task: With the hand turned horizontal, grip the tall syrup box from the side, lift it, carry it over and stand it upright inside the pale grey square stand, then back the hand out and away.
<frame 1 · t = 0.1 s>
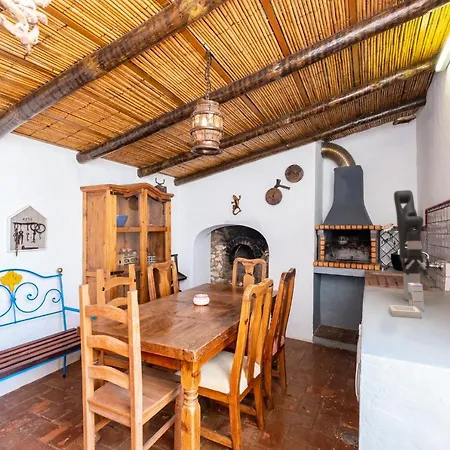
hand: (415, 275, 182), 17 cm above the countertop, tool pointing down, fingers open, 8 cm apart
syrup box: (416, 309, 169), on the countertop
square stand: (404, 314, 159), on the countertop
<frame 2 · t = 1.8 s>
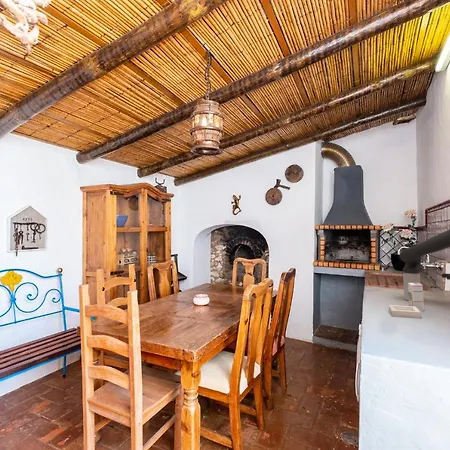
hand: (444, 276, 164), 19 cm above the countertop, tool horizontal, fingers open, 8 cm apart
nothing on the countertop moved.
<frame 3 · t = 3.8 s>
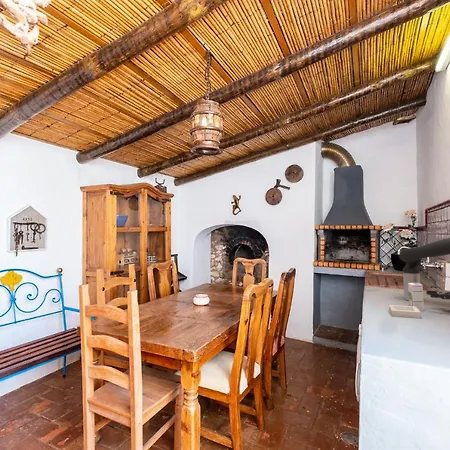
hand: (428, 293, 167), 9 cm above the countertop, tool horizontal, fingers open, 8 cm apart
nothing on the countertop moved.
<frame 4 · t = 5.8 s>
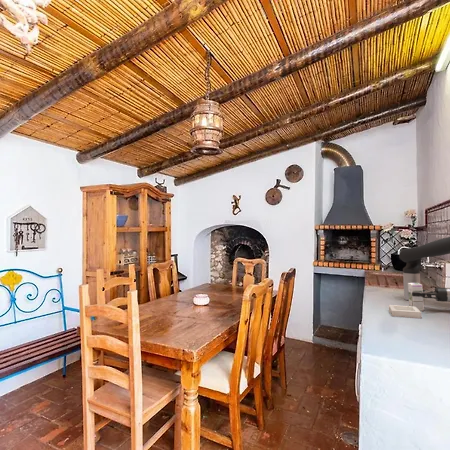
hand: (411, 293, 170), 9 cm above the countertop, tool horizontal, fingers closed on syrup box, 6 cm apart
syrup box: (416, 309, 168), on the countertop, touching gripper
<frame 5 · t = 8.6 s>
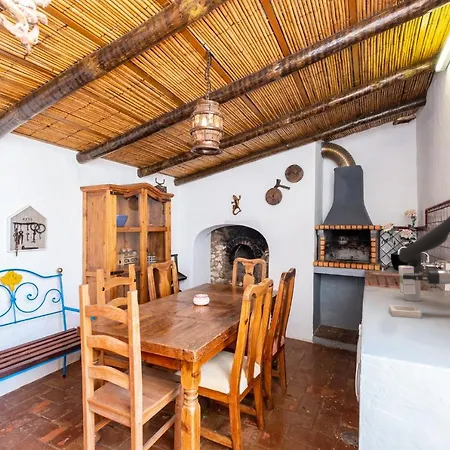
hand: (401, 276, 162), 20 cm above the countertop, tool horizontal, fingers closed on syrup box, 6 cm apart
syrup box: (407, 293, 161), point 11 cm above the countertop, touching gripper
when the fingers open (11 cm above the countertop, at t = 11.7 s): syrup box stays where it is, resting on square stand.
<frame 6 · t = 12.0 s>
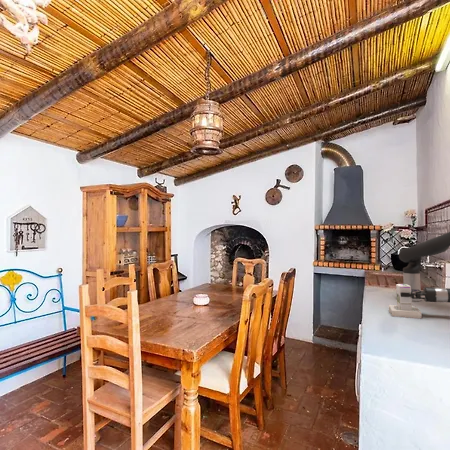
hand: (399, 293, 160), 11 cm above the countertop, tool horizontal, fingers open, 8 cm apart
syrup box: (404, 312, 159), point 1 cm above the countertop, touching square stand
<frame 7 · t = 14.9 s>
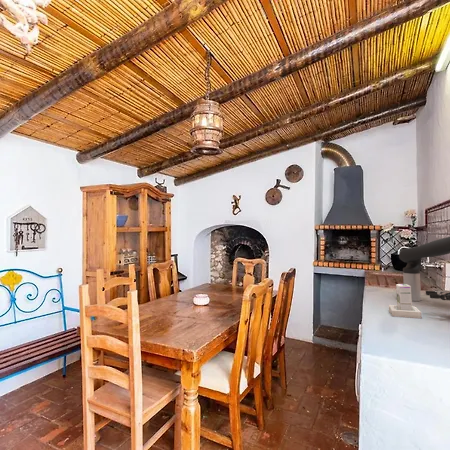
hand: (427, 294, 155), 11 cm above the countertop, tool horizontal, fingers open, 8 cm apart
nothing on the countertop moved.
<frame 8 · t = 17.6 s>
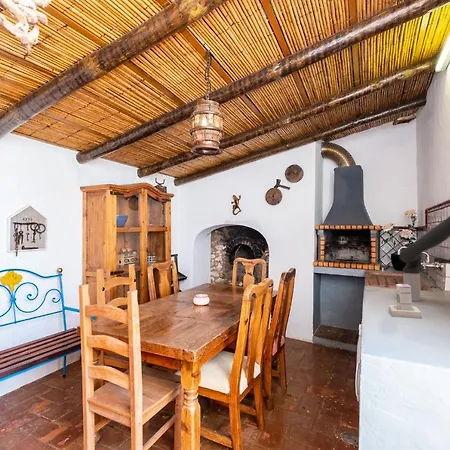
hand: (436, 260, 161), 28 cm above the countertop, tool horizontal, fingers open, 8 cm apart
nothing on the countertop moved.
at the end: syrup box 0.1 cm off-centre on the square stand, point 0.8 cm above the square stand's base; syrup box tilted 0°; the gripper is holding nothing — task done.
